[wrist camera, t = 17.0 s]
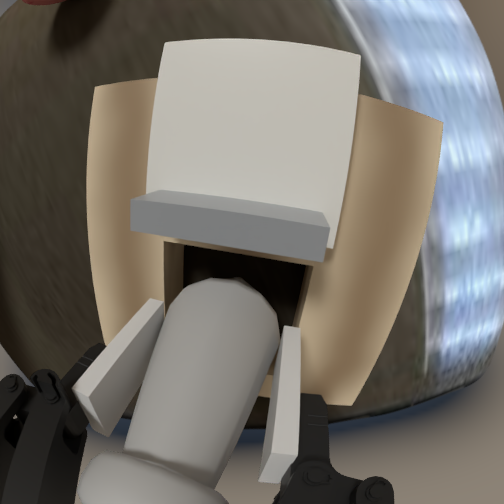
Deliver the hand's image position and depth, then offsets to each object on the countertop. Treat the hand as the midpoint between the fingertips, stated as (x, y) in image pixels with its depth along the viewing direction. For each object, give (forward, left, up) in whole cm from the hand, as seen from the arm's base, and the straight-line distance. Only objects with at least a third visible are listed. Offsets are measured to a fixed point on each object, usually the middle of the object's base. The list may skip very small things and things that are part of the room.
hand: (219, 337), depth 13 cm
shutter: (0, +9, -2) cm, 9 cm away
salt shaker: (0, 0, -3) cm, 3 cm away
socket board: (0, +3, -5) cm, 6 cm away
